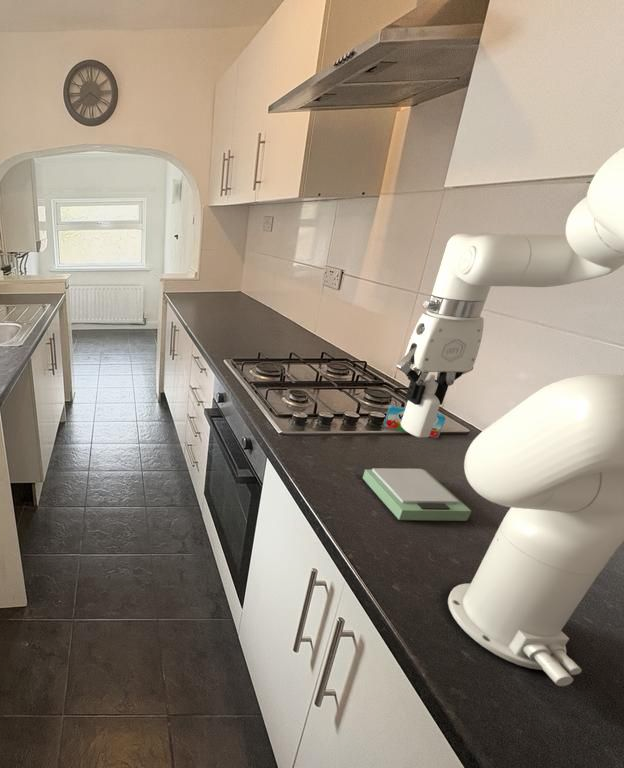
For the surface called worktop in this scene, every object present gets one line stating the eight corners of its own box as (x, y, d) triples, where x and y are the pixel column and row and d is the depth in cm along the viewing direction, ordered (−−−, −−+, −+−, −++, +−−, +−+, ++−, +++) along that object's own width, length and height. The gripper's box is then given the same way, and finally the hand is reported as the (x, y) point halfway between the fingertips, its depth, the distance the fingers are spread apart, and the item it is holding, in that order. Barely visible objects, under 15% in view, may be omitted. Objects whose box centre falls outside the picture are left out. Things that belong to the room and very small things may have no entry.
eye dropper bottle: (424, 427, 84) (444, 372, 79) (429, 440, 79) (450, 382, 74) (399, 422, 85) (416, 368, 81) (402, 434, 81) (420, 378, 76)
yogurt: (383, 427, 111) (390, 407, 109) (383, 424, 113) (389, 404, 110) (438, 438, 106) (446, 417, 104) (437, 435, 108) (444, 414, 105)
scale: (467, 520, 79) (472, 508, 78) (398, 520, 79) (403, 507, 78) (421, 478, 91) (426, 467, 90) (362, 478, 91) (365, 467, 90)
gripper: (421, 312, 69) (392, 410, 76) (520, 312, 69) (481, 410, 76) (394, 302, 76) (369, 393, 83) (483, 303, 76) (451, 394, 83)
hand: (423, 400), depth 80 cm, fingers closed on eye dropper bottle, 3 cm apart
